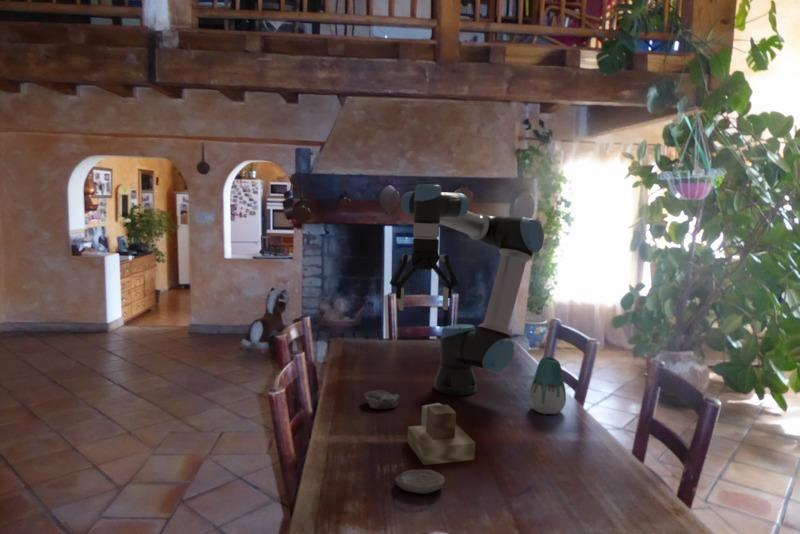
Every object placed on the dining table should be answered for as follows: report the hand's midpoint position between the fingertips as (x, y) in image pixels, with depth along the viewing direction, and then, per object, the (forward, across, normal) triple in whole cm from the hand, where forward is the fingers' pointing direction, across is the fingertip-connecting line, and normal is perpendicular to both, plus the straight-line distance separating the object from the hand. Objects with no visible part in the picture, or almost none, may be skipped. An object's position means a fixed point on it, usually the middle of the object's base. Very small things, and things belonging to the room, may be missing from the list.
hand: (423, 309), depth 171 cm
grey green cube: (+35, -4, +4) cm, 35 cm away
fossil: (+35, +11, +38) cm, 53 cm away
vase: (+35, -44, -2) cm, 56 cm away
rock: (+35, +8, -16) cm, 39 cm away
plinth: (+35, 0, +20) cm, 40 cm away
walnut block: (+30, 0, +20) cm, 36 cm away
